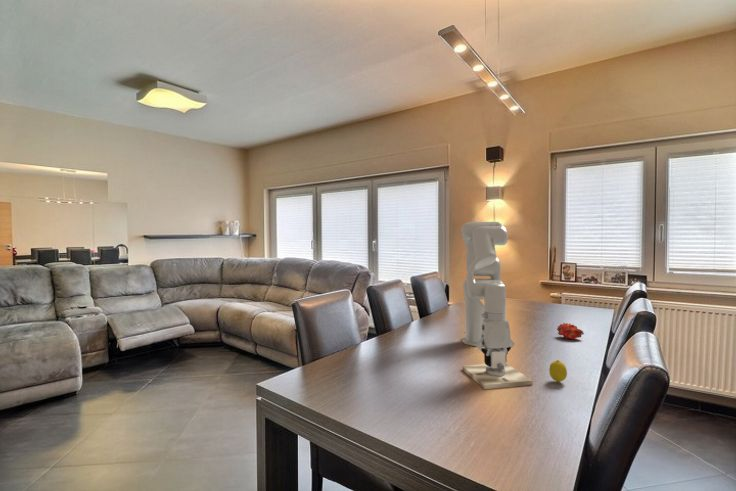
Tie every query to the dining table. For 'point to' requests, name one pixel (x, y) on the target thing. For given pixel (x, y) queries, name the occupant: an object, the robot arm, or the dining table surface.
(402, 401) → the dining table surface
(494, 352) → the white box
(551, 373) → the lemon
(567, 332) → the dragon fruit
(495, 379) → the base
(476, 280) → the robot arm
